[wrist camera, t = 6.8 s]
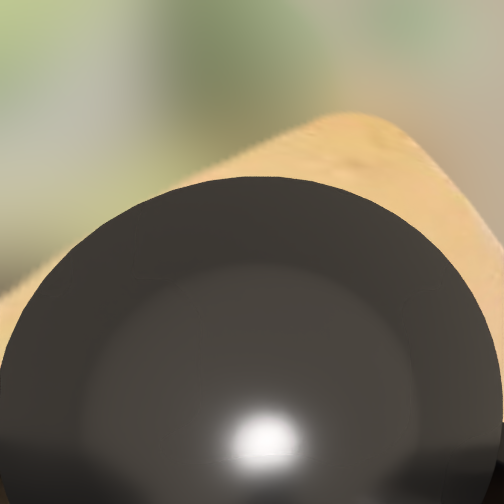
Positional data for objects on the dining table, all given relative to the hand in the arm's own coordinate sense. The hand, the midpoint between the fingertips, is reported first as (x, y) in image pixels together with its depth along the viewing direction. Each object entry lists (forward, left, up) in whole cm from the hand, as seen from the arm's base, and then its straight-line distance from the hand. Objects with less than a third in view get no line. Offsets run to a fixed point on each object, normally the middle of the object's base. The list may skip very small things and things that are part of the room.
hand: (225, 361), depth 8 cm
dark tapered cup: (-1, +1, -7) cm, 7 cm away
